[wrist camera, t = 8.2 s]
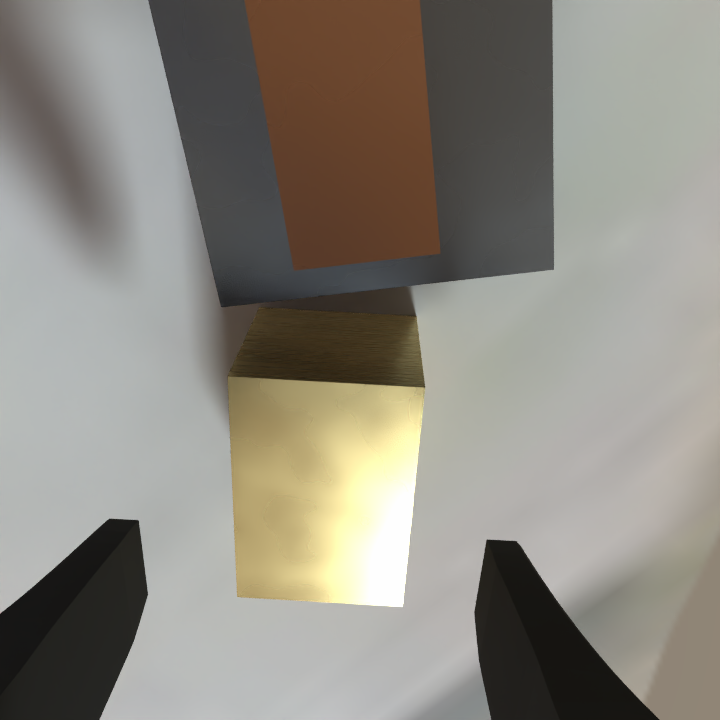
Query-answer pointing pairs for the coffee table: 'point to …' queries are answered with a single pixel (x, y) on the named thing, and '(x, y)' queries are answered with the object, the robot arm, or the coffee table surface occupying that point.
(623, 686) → the robot arm
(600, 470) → the coffee table surface
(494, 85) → the hand plane
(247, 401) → the lever cap
